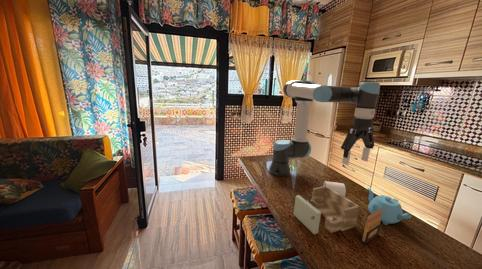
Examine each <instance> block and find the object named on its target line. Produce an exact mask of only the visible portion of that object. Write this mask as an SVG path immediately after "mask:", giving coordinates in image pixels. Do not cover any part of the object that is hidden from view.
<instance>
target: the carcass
mask: <svg viewBox="0 0 482 269" xmlns="http://www.w3.org/2000/svg"><path fill="white" fill-rule="evenodd" d="M306 201H307V202H309V203H310V204H311V205H312V206H314V207H315V208H316V209H318V210H319V211H320V212H321V216H322V217H324V218H325V220H324V228H325V230H327V231H328V232H329V233H331V234H333V233H335V232H338V231H341V232H344V231H347V230H349V229H352V228H355V227H357V223H358V218H359V215H360V209H361V206H360V205H358V204H357V203H355V202H353V201H352V200H350V199H349V198H347V197H346V196H345V197H343V196H342V195H340V194H338V193H337V192H335V191H333V190H332V189H330V188H328V187H327V186H323V185H322V186H319V187H318V186H317V187H313V188H312V195H311V194H308V199H307V200H306Z"/></svg>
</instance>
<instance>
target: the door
mask: <svg viewBox="0 0 482 269" xmlns="http://www.w3.org/2000/svg"><path fill="white" fill-rule="evenodd" d="M294 198H295V200H294V207H293V215H294V217H295V218H297V220H298V221H300V223H302V224H303V225H304V227H306V228H307V229H308V230H309V231H310V232H311V233H312V234H313V235H316V234H319V227H320V222H321V218H322V217H321V216H322V215H321V212H320V211H319V210H318V209H316V208H315V207H314V206H312V205H311V204H310V203H309V202H307V200H306V199H304V198H303V197H302V196H301V195H298V194H297V195H296V196H295V197H294Z"/></svg>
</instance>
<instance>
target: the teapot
mask: <svg viewBox="0 0 482 269" xmlns="http://www.w3.org/2000/svg"><path fill="white" fill-rule="evenodd" d="M367 190H368V192H369V194H368V203H369V204H368V205H367V206H368V207H367V209H368V212H369V213H370V215H371V214H373V213H374V212H376V211H378V210H380V209H382V215H381V223H382V224H383V225H385V226H388V225H391V224H396V223H399V222H401V221H402V220H407V219H411V218H413V217H412V215H411V213H410V212H406V213H403V212H404V211H403V207H402V205H401V203H400V202H399V200H398V199H396V198H392V197H391V196H388V195H384V194H383V195H376V196H375V197H374V192H373V190H372V189H370V188H369V187H367Z"/></svg>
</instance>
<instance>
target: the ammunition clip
mask: <svg viewBox="0 0 482 269" xmlns="http://www.w3.org/2000/svg"><path fill="white" fill-rule="evenodd" d="M381 215H382V209H380V210H378V211H376V212H374V213H373V214H371V213H370V214H369V215H368V216H367V219H366V221H365V224H364V228H363V229H362V232H361V233H362V234H361V237H360V242H363V243H365V244H367V243H368V242H369V241H371V240H372V239H373V238H375V237H377V236H378V235H379V234H380V229H381V223H382V221H381Z"/></svg>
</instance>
